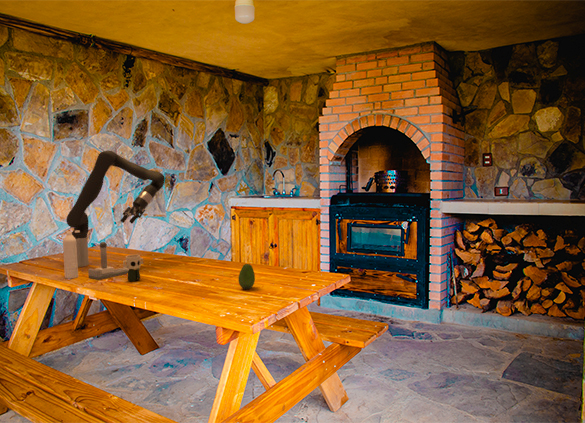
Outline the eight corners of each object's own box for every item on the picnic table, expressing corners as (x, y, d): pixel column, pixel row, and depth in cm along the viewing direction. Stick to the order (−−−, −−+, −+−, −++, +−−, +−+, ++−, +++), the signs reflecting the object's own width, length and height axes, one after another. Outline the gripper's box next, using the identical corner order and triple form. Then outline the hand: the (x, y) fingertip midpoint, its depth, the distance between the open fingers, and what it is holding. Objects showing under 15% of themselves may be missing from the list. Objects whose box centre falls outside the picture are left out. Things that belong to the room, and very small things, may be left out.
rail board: (88, 278, 228) (88, 268, 228) (129, 269, 249) (129, 260, 248) (98, 280, 223) (97, 270, 223) (139, 271, 243) (139, 262, 243)
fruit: (256, 290, 200) (256, 264, 199) (240, 291, 198) (239, 266, 197) (253, 285, 207) (253, 261, 206) (237, 287, 205) (236, 262, 204)
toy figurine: (127, 283, 215) (126, 258, 214) (120, 281, 220) (119, 256, 219) (147, 279, 223) (146, 255, 222) (140, 277, 228) (139, 253, 227)
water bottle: (67, 279, 226) (64, 232, 223) (63, 277, 230) (60, 231, 228) (84, 276, 232) (82, 230, 230) (79, 274, 236) (77, 230, 234)
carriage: (95, 272, 230) (93, 242, 228) (107, 270, 235) (105, 240, 234) (101, 273, 226) (100, 243, 225) (113, 271, 232) (112, 241, 230)
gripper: (131, 196, 250) (114, 217, 242) (146, 196, 242) (129, 218, 234) (139, 204, 255) (123, 225, 247) (154, 205, 247) (138, 227, 239)
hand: (126, 222), depth 240 cm, fingers open, 8 cm apart
